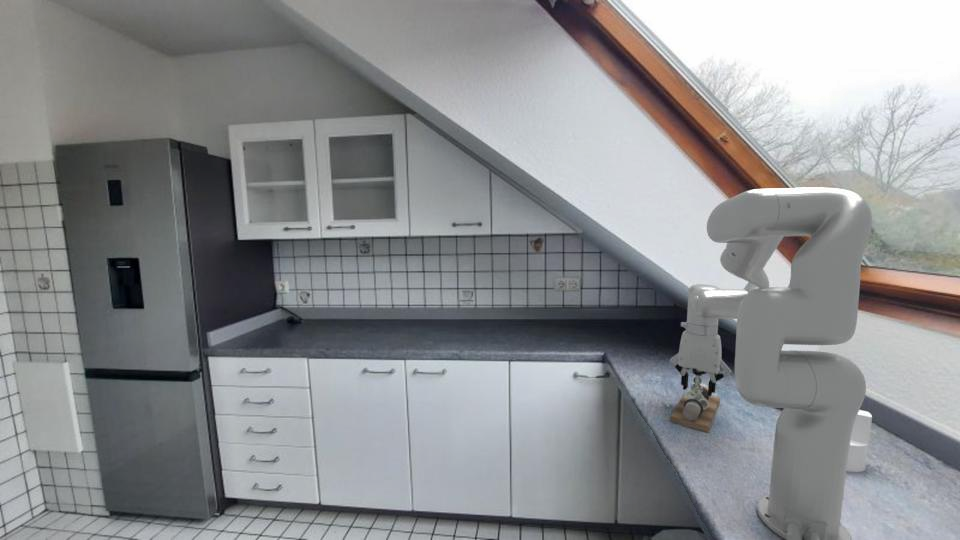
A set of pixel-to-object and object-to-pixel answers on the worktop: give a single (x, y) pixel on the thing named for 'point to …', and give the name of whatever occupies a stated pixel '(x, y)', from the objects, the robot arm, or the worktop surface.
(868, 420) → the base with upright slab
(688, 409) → the pipe board
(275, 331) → the worktop surface
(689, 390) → the valve
